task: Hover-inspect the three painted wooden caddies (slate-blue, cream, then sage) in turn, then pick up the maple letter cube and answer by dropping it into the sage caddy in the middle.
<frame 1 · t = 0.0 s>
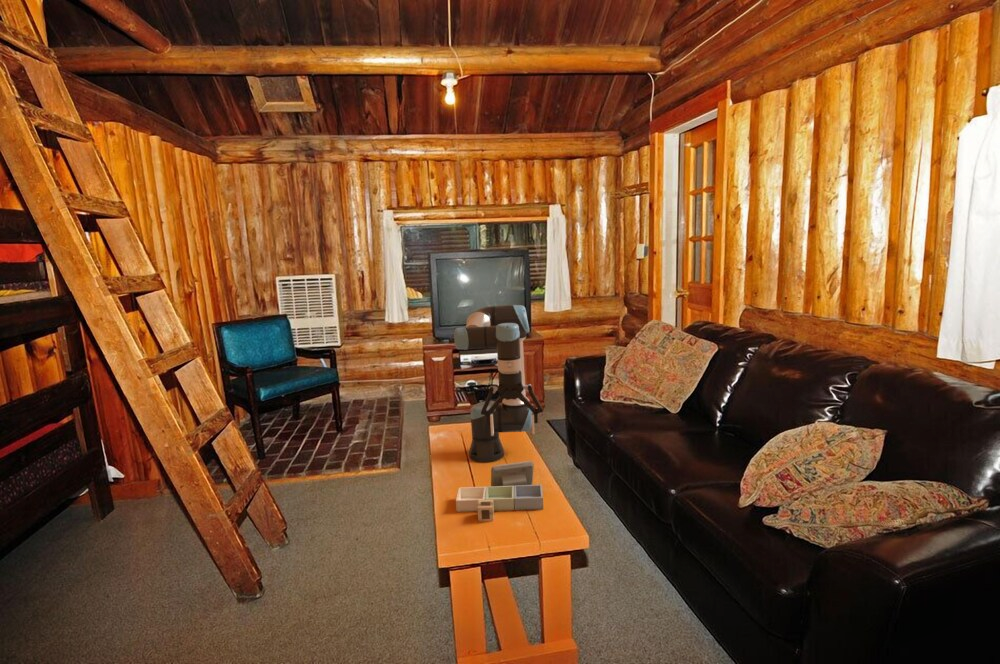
hand: (513, 433, 175), 28 cm above the table, fingers open, 13 cm apart
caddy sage: (500, 503, 186), on the table
caddy cream: (472, 504, 186), on the table
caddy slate: (528, 502, 185), on the table
letter cube: (486, 517, 177), on the table
digital clock: (513, 489, 196), on the table
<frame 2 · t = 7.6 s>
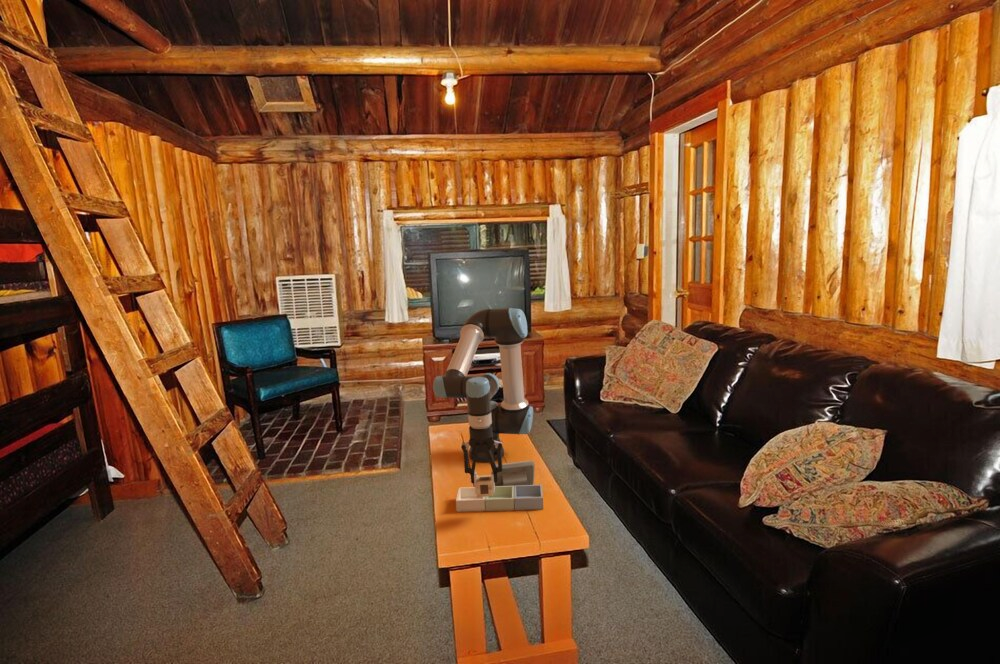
hand: (485, 491, 176), 9 cm above the table, fingers closed on letter cube, 5 cm apart
letter cube: (485, 492, 176), point 9 cm above the table, touching gripper
everything else where it was.
when the fingers open (6 cm above the table, at t = 10.0 s): letter cube drops 5 cm, resting on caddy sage.
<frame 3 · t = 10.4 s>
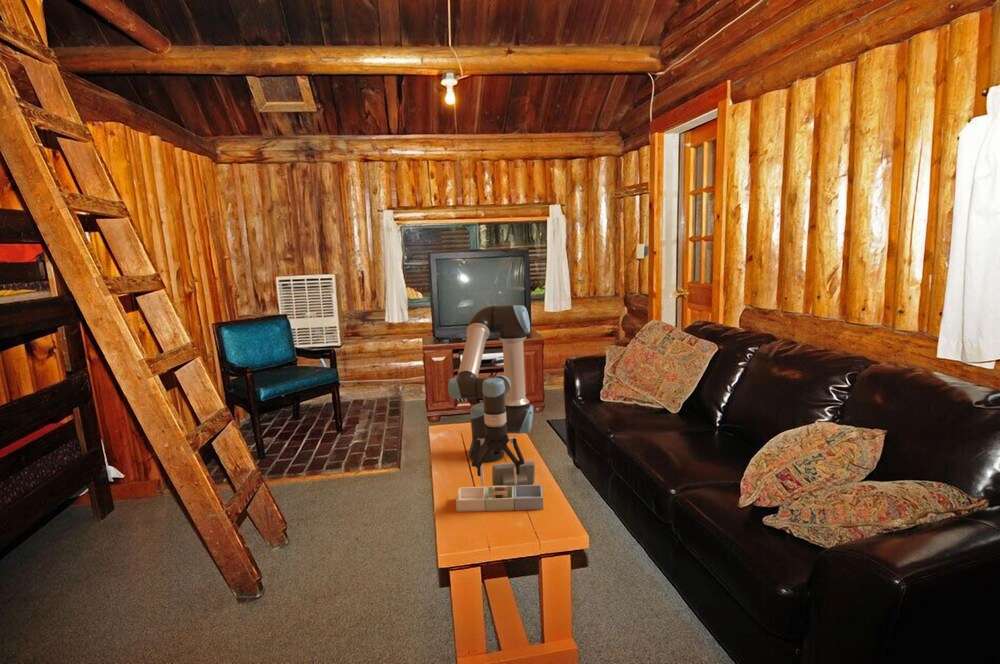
hand: (499, 483, 184), 7 cm above the table, fingers open, 11 cm apart
letter cube: (500, 502, 185), point 1 cm above the table, touching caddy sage
everything else where it was.
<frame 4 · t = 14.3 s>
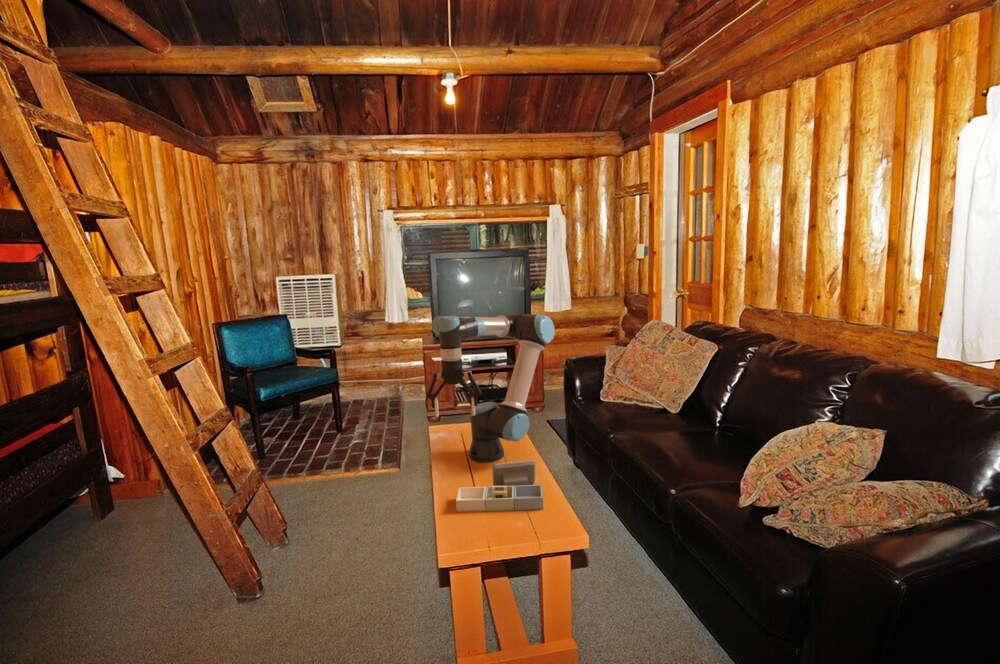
hand: (455, 415, 194), 29 cm above the table, fingers open, 13 cm apart
at the end: letter cube inside the target area on the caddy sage (0.2 cm from its centre), point 0.6 cm above the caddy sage's base; the gripper is holding nothing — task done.
